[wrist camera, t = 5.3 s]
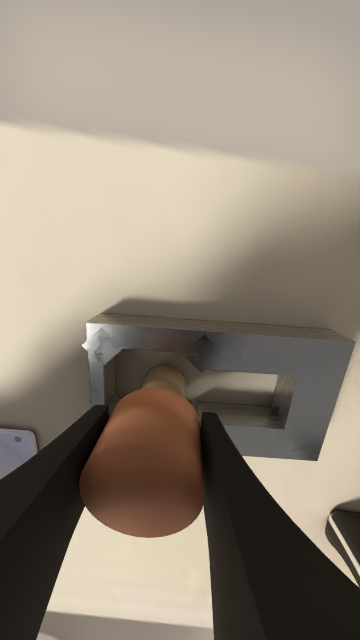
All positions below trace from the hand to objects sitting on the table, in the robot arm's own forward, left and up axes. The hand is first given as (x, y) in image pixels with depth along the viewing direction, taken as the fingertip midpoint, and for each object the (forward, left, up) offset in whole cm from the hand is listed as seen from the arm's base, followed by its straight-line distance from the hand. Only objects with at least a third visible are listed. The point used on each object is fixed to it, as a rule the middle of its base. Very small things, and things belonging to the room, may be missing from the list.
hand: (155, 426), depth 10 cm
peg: (0, 0, -4) cm, 4 cm away
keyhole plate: (+3, 0, -4) cm, 5 cm away
